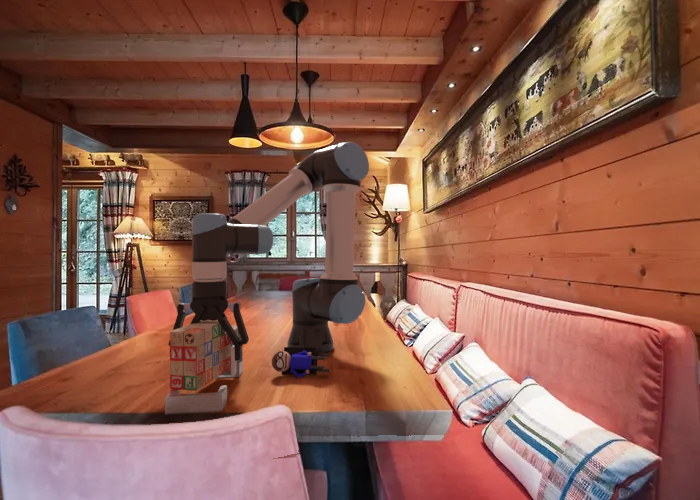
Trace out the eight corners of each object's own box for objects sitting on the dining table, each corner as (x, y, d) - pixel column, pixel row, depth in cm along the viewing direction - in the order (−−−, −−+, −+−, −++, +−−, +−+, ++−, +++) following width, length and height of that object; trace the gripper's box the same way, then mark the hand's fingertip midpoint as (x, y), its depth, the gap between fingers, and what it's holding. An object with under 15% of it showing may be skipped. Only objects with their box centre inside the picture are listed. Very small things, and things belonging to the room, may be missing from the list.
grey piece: (242, 370, 103) (242, 357, 103) (239, 377, 98) (239, 363, 98) (200, 372, 102) (200, 359, 102) (195, 378, 97) (195, 365, 97)
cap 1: (165, 414, 76) (164, 397, 76) (173, 404, 81) (173, 387, 81) (222, 411, 77) (221, 394, 77) (227, 401, 82) (227, 385, 82)
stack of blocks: (220, 360, 101) (220, 313, 101) (243, 361, 100) (242, 314, 100) (169, 389, 80) (169, 330, 80) (197, 391, 79) (196, 331, 79)
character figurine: (326, 382, 95) (269, 380, 98) (333, 371, 102) (279, 369, 105) (326, 352, 94) (268, 349, 97) (332, 342, 102) (278, 340, 104)
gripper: (261, 278, 95) (261, 368, 95) (164, 279, 92) (164, 372, 92) (257, 280, 87) (257, 378, 87) (151, 282, 85) (152, 382, 85)
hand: (209, 375), depth 90 cm, fingers open, 10 cm apart
